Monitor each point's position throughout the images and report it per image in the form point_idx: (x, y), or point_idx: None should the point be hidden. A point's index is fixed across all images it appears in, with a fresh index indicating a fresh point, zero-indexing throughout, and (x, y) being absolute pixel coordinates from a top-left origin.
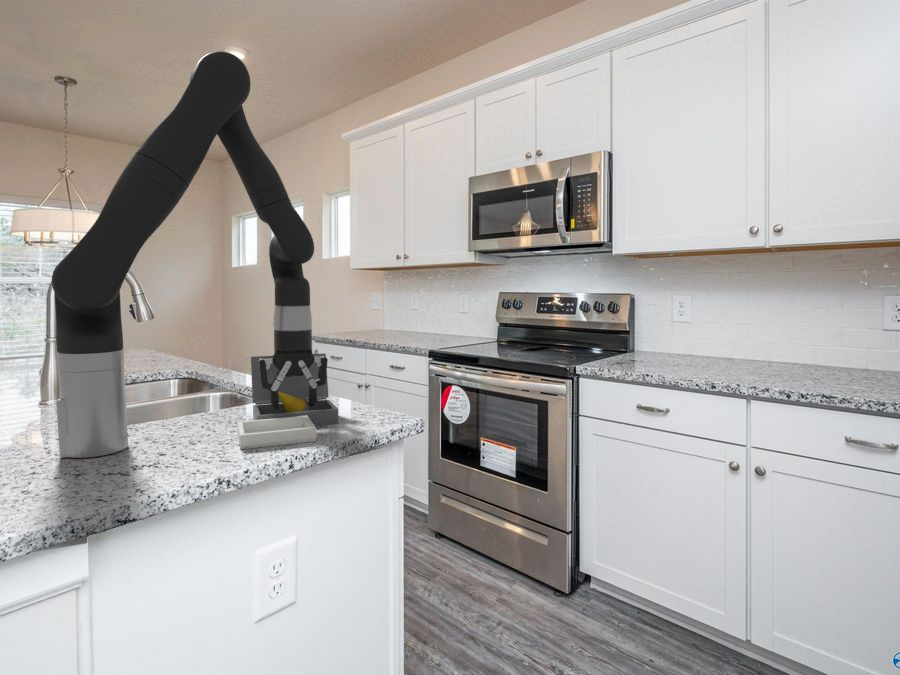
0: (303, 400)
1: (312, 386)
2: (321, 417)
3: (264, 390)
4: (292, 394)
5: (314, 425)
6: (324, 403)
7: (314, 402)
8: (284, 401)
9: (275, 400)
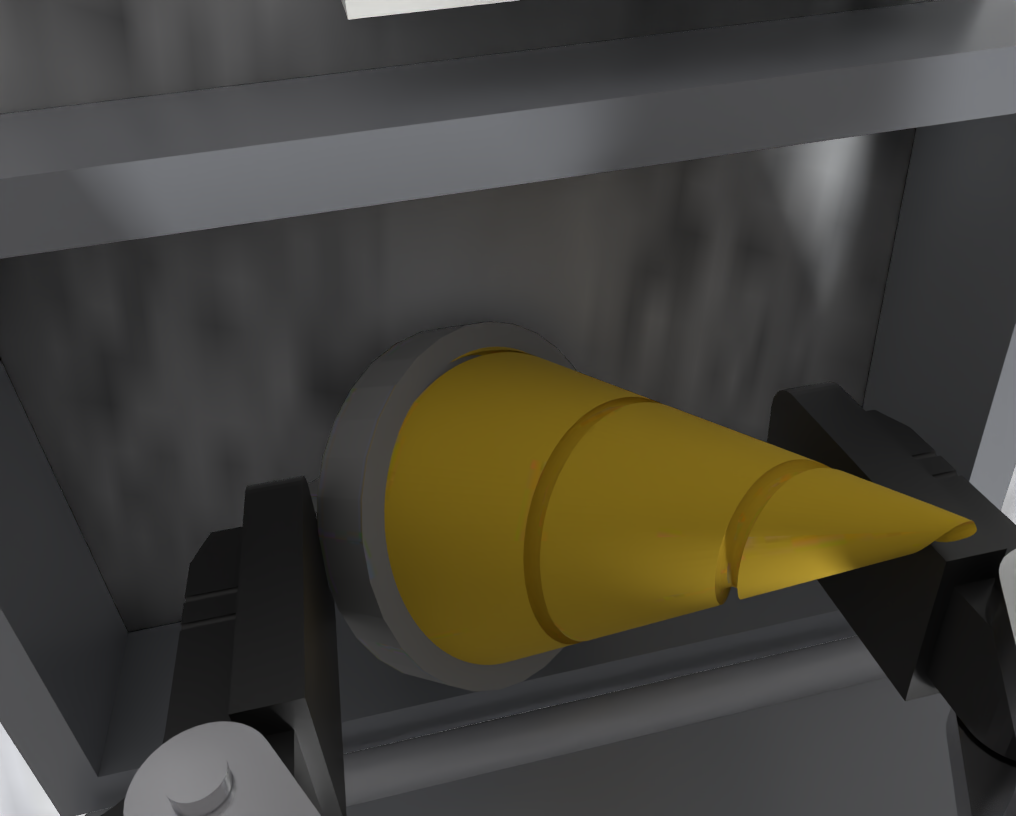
0: (420, 584)
1: (248, 760)
2: (92, 135)
3: (941, 807)
4: (563, 809)
5: (229, 86)
6: (122, 737)
7: (232, 537)
8: (749, 437)
9: (895, 443)
